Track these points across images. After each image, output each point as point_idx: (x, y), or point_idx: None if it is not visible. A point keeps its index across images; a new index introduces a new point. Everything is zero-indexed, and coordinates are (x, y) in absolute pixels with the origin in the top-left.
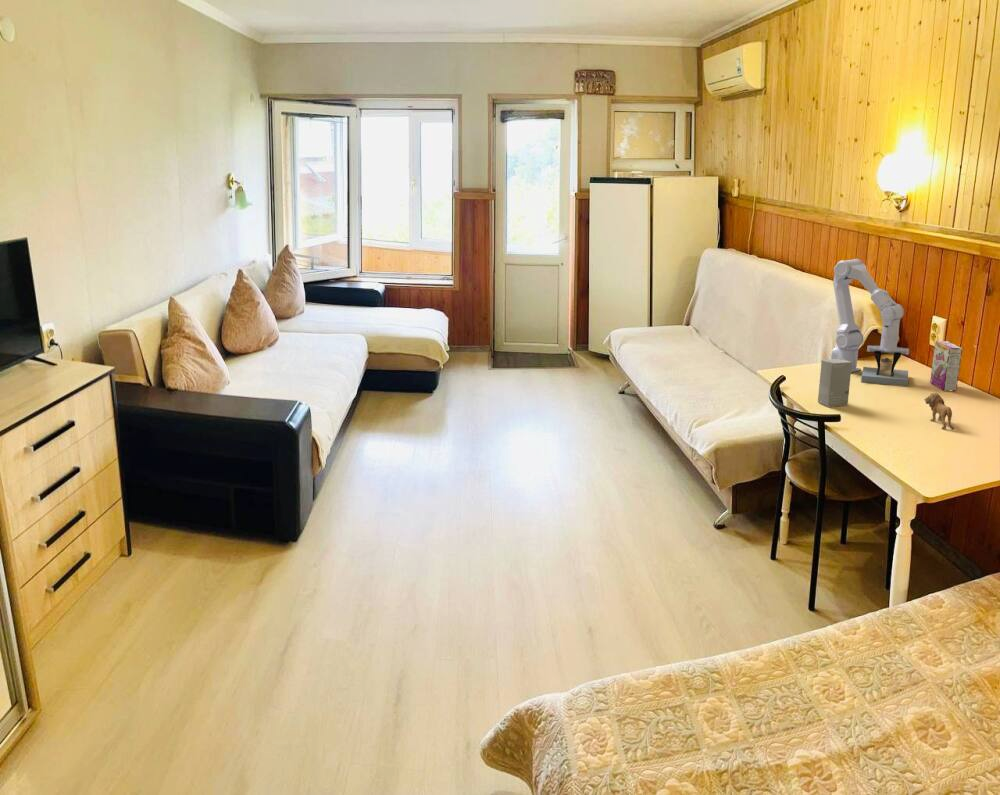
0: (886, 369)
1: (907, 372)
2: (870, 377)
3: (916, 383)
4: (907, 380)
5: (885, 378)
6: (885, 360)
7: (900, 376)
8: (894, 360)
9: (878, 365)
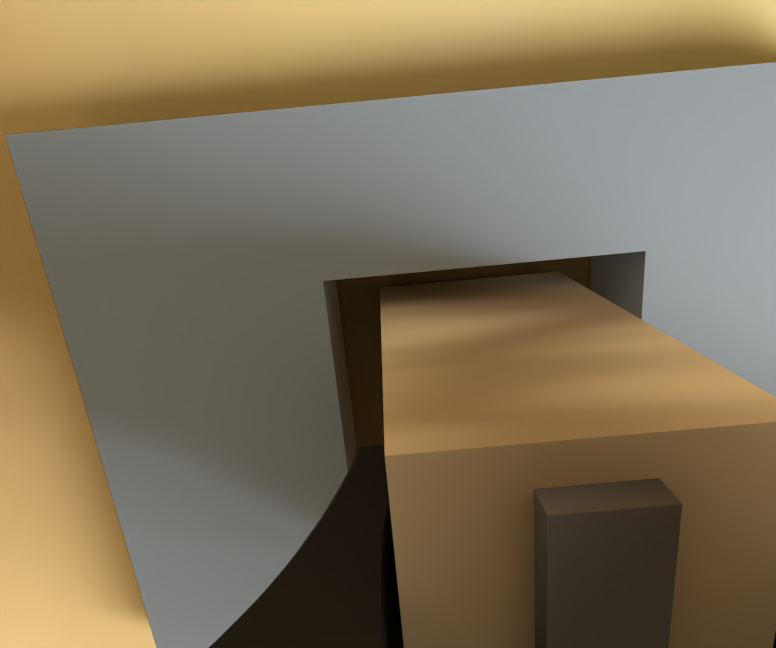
0: (497, 343)
1: (163, 636)
2: (753, 66)
3: (17, 385)
4: (23, 133)
5: (457, 92)
6: (655, 565)
7: (205, 344)
8: (325, 639)
9: None
